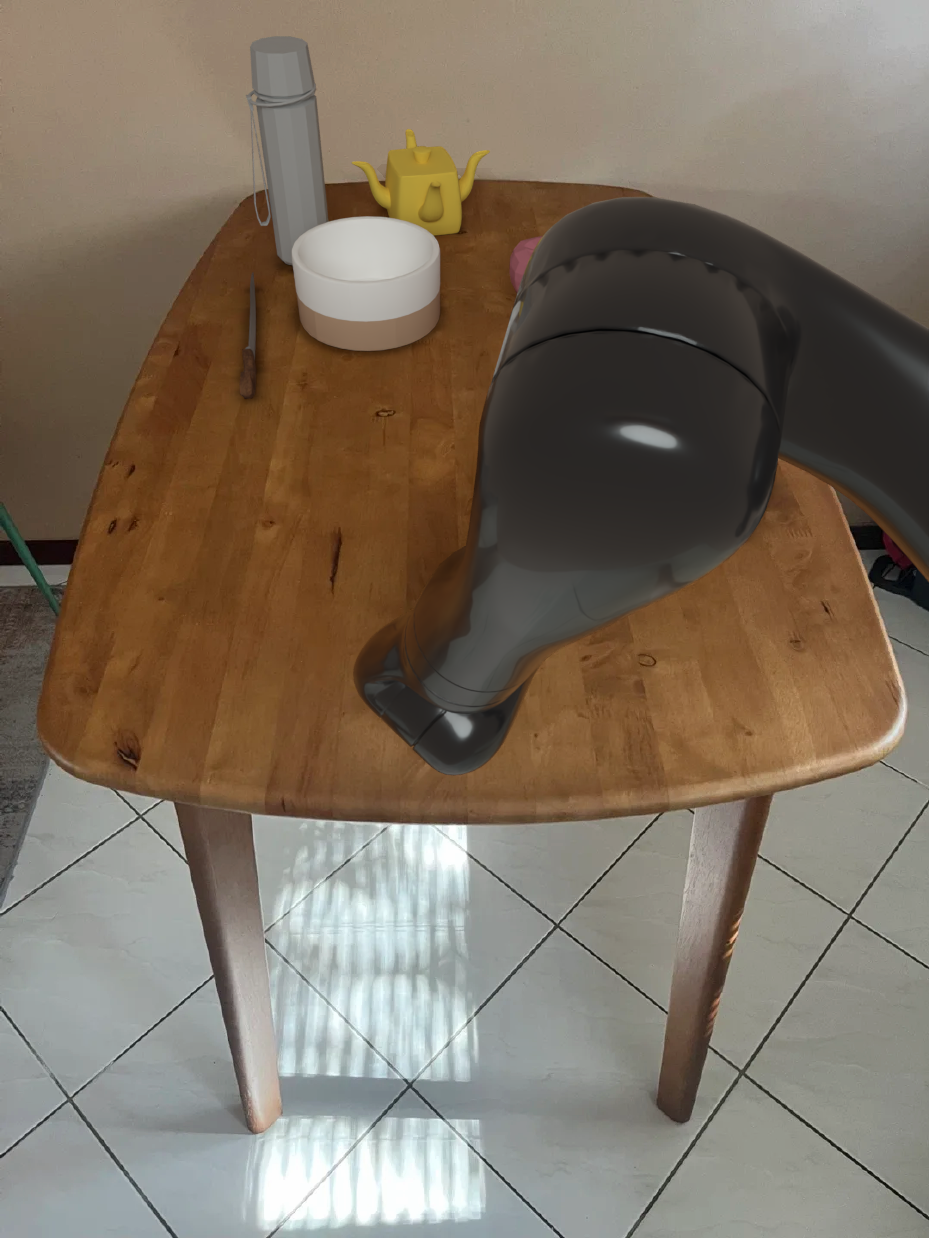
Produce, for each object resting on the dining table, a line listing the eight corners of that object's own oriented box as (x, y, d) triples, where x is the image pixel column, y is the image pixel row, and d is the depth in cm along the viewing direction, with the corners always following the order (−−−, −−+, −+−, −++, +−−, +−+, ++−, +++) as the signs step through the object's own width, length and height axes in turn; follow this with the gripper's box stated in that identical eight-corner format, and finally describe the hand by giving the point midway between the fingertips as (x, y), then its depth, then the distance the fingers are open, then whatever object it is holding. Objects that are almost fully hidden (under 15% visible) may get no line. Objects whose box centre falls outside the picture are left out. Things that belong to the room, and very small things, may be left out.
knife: (250, 382, 97) (254, 244, 117) (237, 383, 97) (243, 244, 116) (257, 417, 100) (259, 277, 120) (244, 418, 100) (249, 277, 120)
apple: (589, 303, 117) (599, 224, 109) (577, 338, 111) (586, 257, 104) (515, 293, 118) (519, 214, 111) (499, 327, 113) (502, 246, 105)
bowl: (450, 286, 119) (450, 221, 113) (426, 358, 108) (425, 290, 102) (319, 275, 121) (312, 210, 115) (282, 344, 109) (272, 277, 103)
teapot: (438, 252, 126) (438, 178, 119) (353, 227, 130) (347, 155, 123) (492, 213, 134) (494, 142, 127) (409, 191, 139) (407, 121, 132)
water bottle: (327, 241, 128) (306, 32, 109) (337, 268, 122) (317, 53, 104) (259, 248, 126) (227, 38, 108) (266, 276, 121) (233, 59, 102)
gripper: (674, 553, 62) (777, 436, 70) (498, 471, 67) (614, 372, 76) (656, 629, 67) (754, 512, 76) (495, 547, 73) (604, 447, 82)
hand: (684, 442), depth 76 cm, fingers open, 8 cm apart
